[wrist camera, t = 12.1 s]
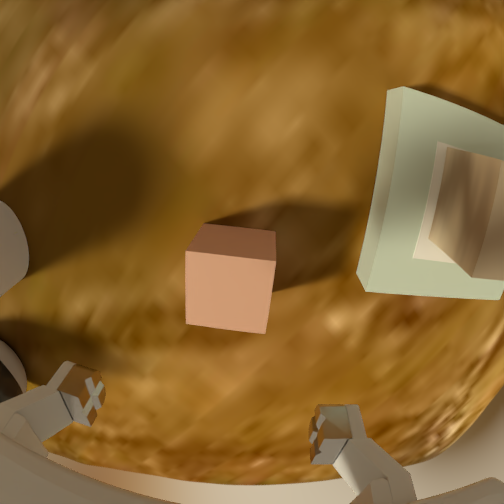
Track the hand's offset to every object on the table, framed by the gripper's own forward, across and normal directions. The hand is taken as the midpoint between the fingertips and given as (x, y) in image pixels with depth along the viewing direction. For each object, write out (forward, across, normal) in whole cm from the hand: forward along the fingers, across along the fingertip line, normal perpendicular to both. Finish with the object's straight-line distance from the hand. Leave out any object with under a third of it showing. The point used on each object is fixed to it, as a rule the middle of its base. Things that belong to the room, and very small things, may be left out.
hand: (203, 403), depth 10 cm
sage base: (+11, -14, -7) cm, 19 cm away
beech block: (+8, -14, -8) cm, 18 cm away
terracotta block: (+11, 0, -1) cm, 11 cm away
